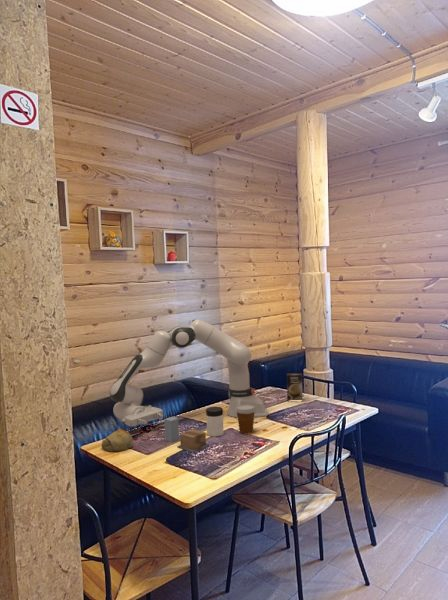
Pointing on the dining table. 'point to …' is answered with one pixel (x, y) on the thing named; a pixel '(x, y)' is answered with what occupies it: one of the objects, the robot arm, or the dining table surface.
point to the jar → (214, 421)
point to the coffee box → (294, 386)
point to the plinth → (193, 440)
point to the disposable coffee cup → (245, 418)
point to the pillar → (171, 429)
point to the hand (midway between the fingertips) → (154, 420)
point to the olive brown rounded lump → (118, 441)
